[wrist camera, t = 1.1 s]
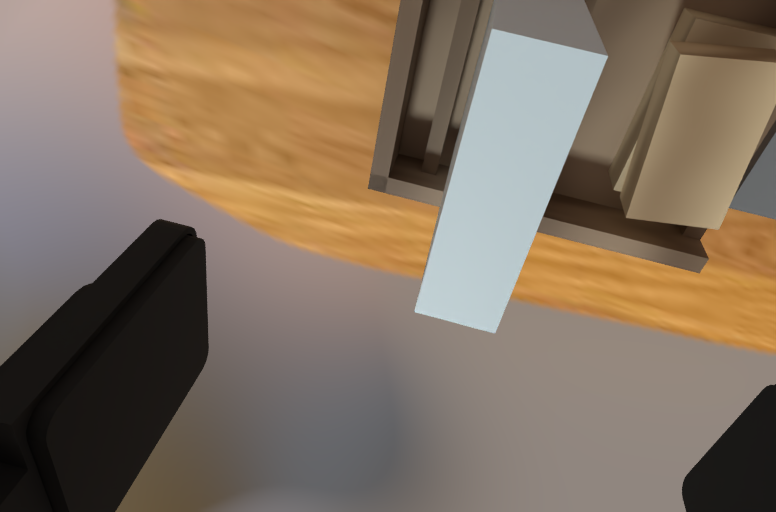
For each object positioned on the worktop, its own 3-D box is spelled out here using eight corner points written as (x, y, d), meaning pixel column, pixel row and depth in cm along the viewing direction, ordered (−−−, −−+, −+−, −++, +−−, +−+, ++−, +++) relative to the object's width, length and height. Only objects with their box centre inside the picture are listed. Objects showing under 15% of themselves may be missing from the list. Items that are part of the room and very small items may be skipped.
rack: (844, -42, 20) (896, -26, 17) (681, 230, 27) (699, 273, 24) (436, -132, 21) (423, -131, 18) (383, 155, 28) (368, 188, 25)
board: (569, -35, 21) (607, 56, 11) (506, 156, 26) (495, 333, 16) (506, -49, 21) (492, 28, 11) (455, 143, 26) (414, 311, 16)
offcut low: (778, 29, 21) (797, 41, 19) (685, 190, 25) (695, 210, 23) (684, 7, 21) (695, 18, 19) (608, 170, 25) (613, 189, 24)
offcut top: (774, 49, 19) (793, 64, 18) (706, 206, 23) (718, 229, 22) (669, 40, 20) (680, 54, 19) (619, 196, 24) (625, 217, 22)
